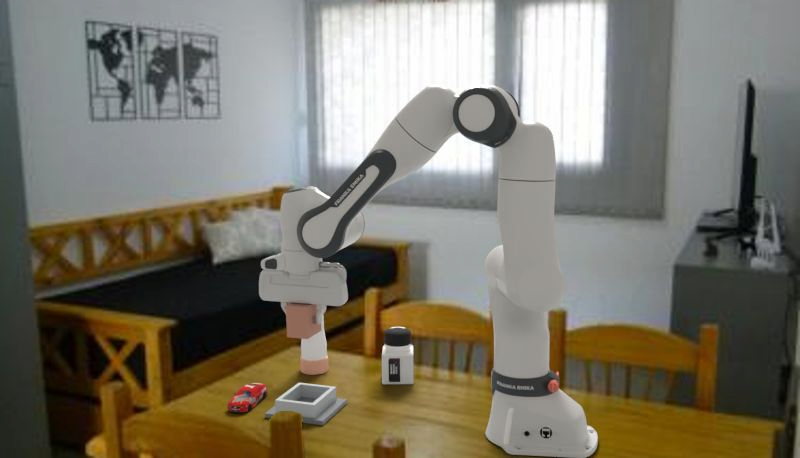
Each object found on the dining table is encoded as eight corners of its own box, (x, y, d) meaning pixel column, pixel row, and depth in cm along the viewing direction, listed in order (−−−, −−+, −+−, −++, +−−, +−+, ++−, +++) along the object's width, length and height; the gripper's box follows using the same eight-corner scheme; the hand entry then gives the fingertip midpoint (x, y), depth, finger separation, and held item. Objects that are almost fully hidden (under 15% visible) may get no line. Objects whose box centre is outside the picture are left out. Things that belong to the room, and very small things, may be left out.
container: (413, 384, 186) (413, 333, 184) (382, 384, 187) (381, 333, 185) (413, 373, 194) (413, 324, 192) (383, 374, 194) (382, 324, 192)
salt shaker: (303, 365, 202) (301, 294, 199) (331, 365, 201) (329, 294, 198) (297, 374, 195) (295, 301, 192) (325, 375, 194) (323, 301, 191)
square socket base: (346, 403, 175) (346, 386, 174) (323, 425, 163) (322, 407, 162) (292, 396, 180) (291, 380, 179) (265, 417, 167) (264, 400, 167)
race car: (245, 416, 169) (244, 399, 168) (223, 414, 170) (222, 397, 170) (271, 395, 181) (271, 379, 181) (251, 393, 183) (250, 377, 182)
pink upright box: (321, 330, 171) (320, 299, 170) (307, 339, 164) (306, 307, 163) (301, 328, 173) (300, 298, 172) (286, 337, 166) (285, 305, 165)
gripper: (351, 260, 166) (353, 322, 168) (268, 255, 172) (270, 315, 174) (340, 266, 160) (341, 330, 162) (254, 261, 166) (256, 322, 168)
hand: (304, 322), depth 168 cm, fingers closed on pink upright box, 5 cm apart
